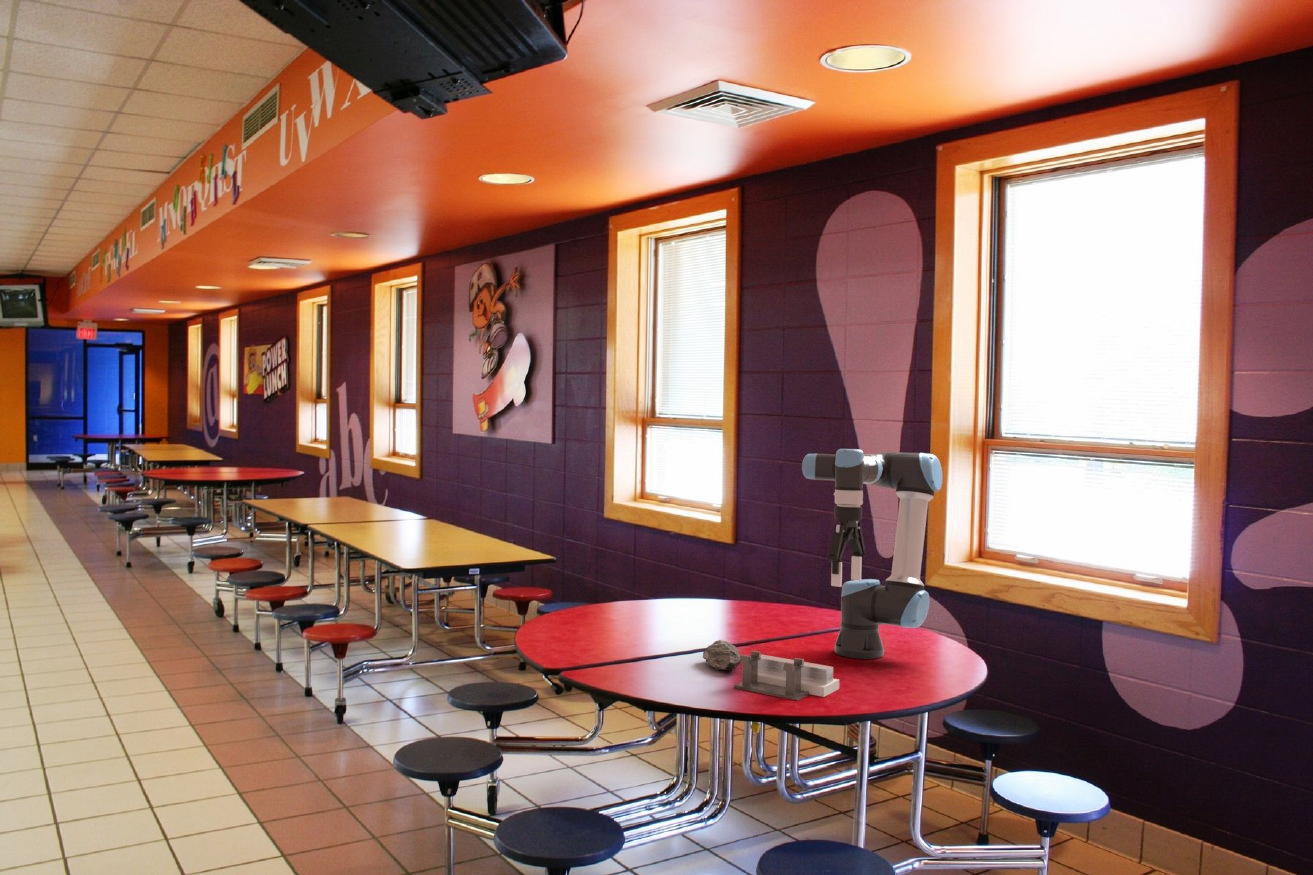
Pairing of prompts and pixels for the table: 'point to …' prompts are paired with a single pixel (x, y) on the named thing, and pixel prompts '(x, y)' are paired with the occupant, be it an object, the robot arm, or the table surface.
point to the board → (805, 685)
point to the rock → (722, 655)
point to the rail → (808, 672)
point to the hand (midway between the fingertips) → (846, 583)
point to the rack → (752, 685)
